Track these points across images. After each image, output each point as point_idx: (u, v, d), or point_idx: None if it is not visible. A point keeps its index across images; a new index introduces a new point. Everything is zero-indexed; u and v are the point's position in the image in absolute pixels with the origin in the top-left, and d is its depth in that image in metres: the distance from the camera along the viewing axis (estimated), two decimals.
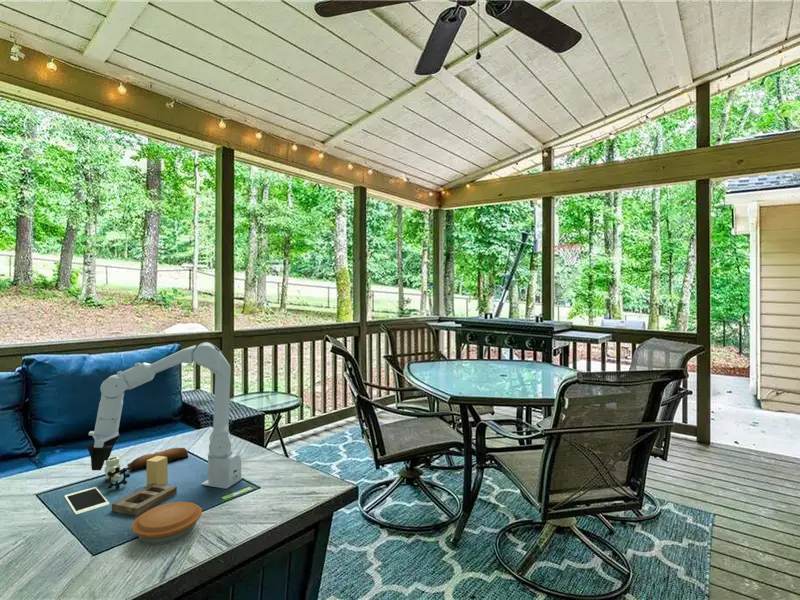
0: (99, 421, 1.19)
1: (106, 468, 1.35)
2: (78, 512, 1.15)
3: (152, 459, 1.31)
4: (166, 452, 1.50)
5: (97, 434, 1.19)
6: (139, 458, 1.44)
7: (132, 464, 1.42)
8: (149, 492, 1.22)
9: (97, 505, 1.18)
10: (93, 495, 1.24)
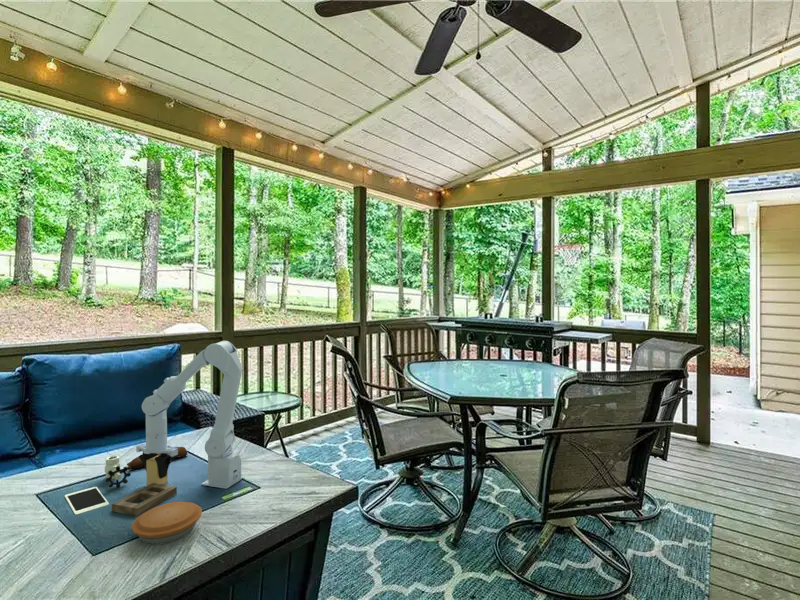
0: (157, 437, 1.30)
1: (106, 467, 1.35)
2: (78, 512, 1.15)
3: (152, 459, 1.31)
4: None
5: (158, 449, 1.30)
6: None
7: (132, 463, 1.42)
8: (149, 492, 1.22)
9: (97, 505, 1.18)
10: (93, 495, 1.24)
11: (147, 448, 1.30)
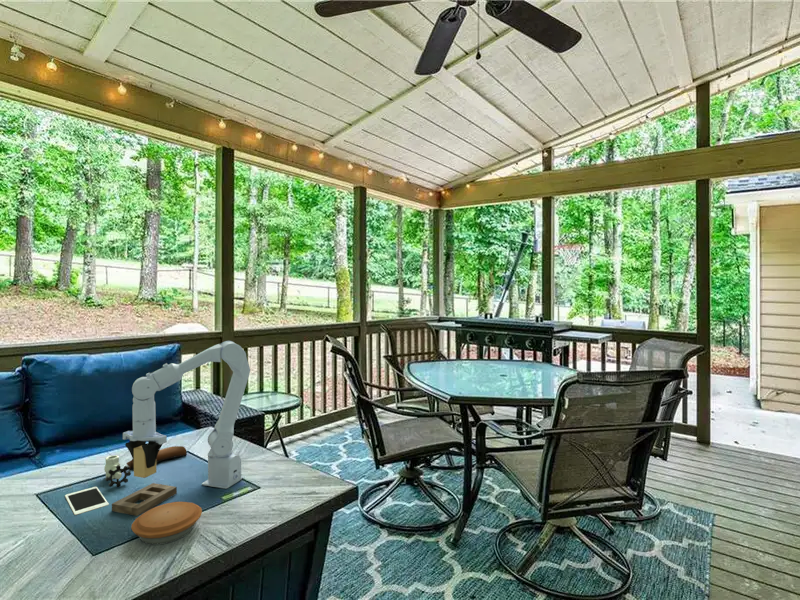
0: (145, 423, 1.20)
1: (106, 467, 1.36)
2: (77, 512, 1.15)
3: (140, 447, 1.22)
4: (165, 450, 1.51)
5: (146, 436, 1.21)
6: None
7: (131, 462, 1.43)
8: (149, 492, 1.22)
9: (96, 505, 1.18)
10: (93, 495, 1.24)
11: (134, 435, 1.20)
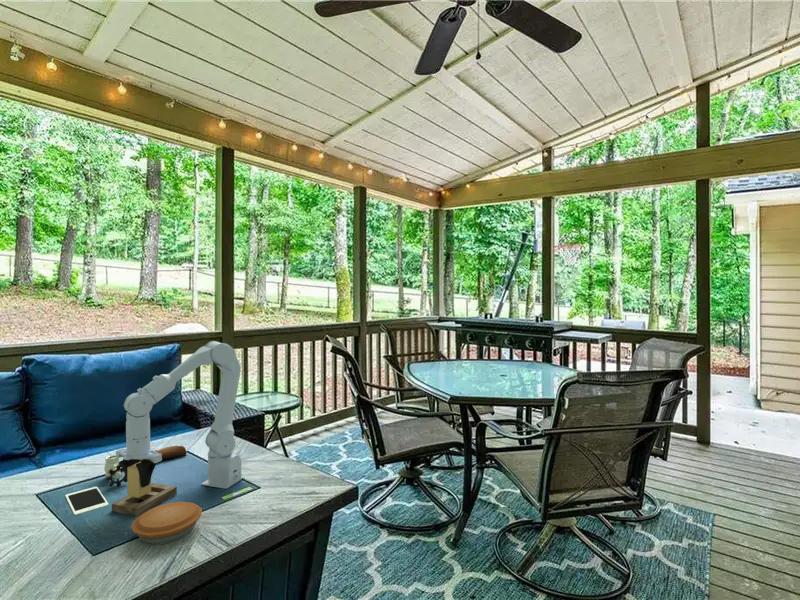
0: (139, 441, 1.16)
1: (106, 466, 1.36)
2: (77, 512, 1.15)
3: (134, 466, 1.18)
4: (165, 450, 1.52)
5: (140, 454, 1.16)
6: None
7: None
8: (149, 492, 1.22)
9: (96, 505, 1.18)
10: (93, 495, 1.24)
11: (127, 453, 1.16)
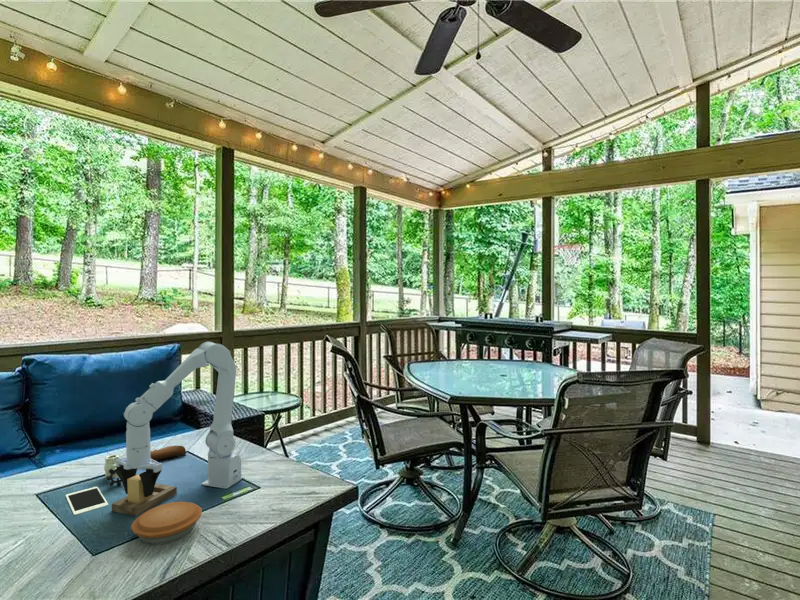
0: (139, 451, 1.16)
1: (106, 466, 1.36)
2: (76, 512, 1.15)
3: (134, 478, 1.18)
4: (164, 449, 1.52)
5: (140, 464, 1.16)
6: None
7: None
8: None
9: (96, 505, 1.18)
10: (93, 495, 1.24)
11: (128, 463, 1.16)
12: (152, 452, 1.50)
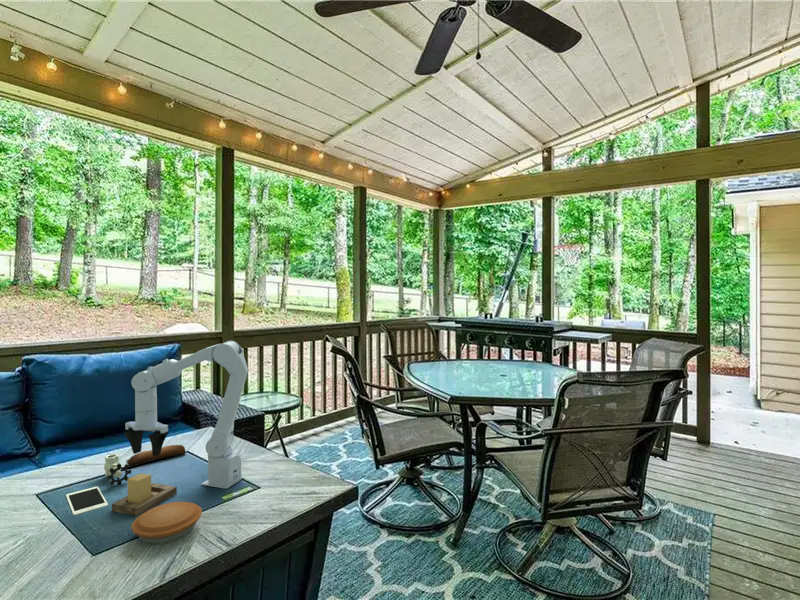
0: (147, 414, 1.28)
1: (106, 465, 1.37)
2: (76, 512, 1.15)
3: (134, 478, 1.18)
4: (164, 448, 1.53)
5: (148, 425, 1.28)
6: (137, 454, 1.47)
7: (130, 460, 1.45)
8: None
9: (95, 506, 1.18)
10: (93, 495, 1.24)
11: (136, 425, 1.28)
12: None
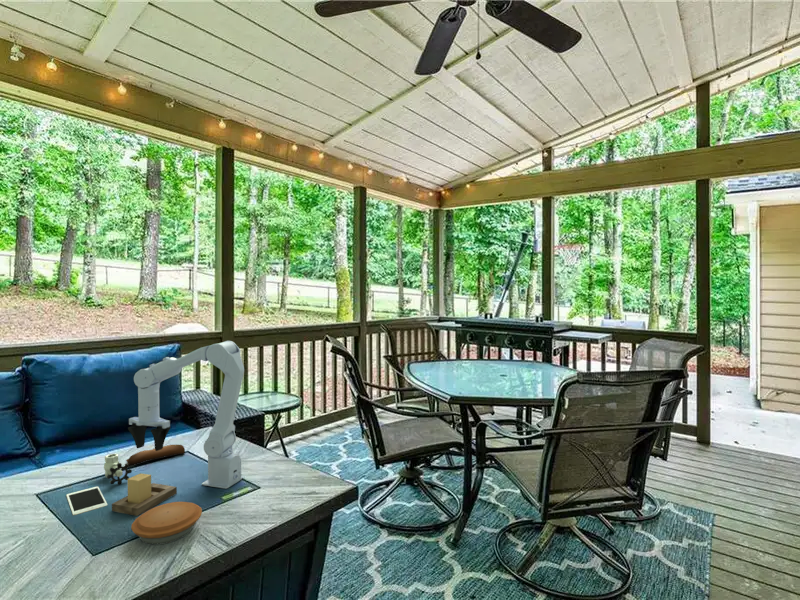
0: (150, 409, 1.32)
1: (106, 465, 1.37)
2: (76, 512, 1.15)
3: (134, 478, 1.18)
4: (163, 448, 1.53)
5: (151, 421, 1.32)
6: (137, 454, 1.48)
7: (129, 459, 1.46)
8: None
9: (95, 506, 1.18)
10: (93, 495, 1.24)
11: (139, 420, 1.32)
12: (151, 451, 1.51)
